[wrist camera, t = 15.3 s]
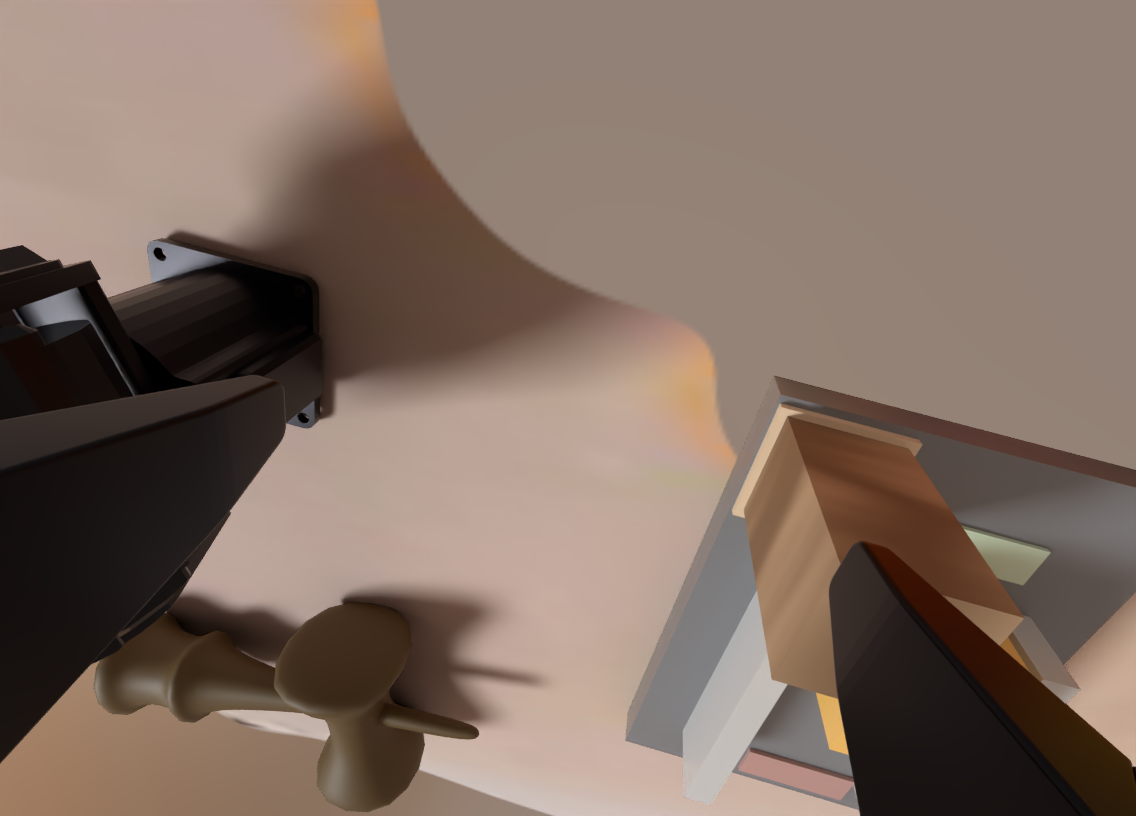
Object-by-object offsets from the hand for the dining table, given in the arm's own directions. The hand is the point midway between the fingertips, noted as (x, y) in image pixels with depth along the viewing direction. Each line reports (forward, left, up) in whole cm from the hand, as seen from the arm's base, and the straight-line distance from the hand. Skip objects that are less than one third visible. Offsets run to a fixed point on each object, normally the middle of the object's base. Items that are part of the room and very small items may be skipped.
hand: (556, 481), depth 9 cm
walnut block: (+8, -5, -10) cm, 14 cm away
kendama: (-11, -25, -12) cm, 30 cm away
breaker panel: (+13, -12, -12) cm, 21 cm away
